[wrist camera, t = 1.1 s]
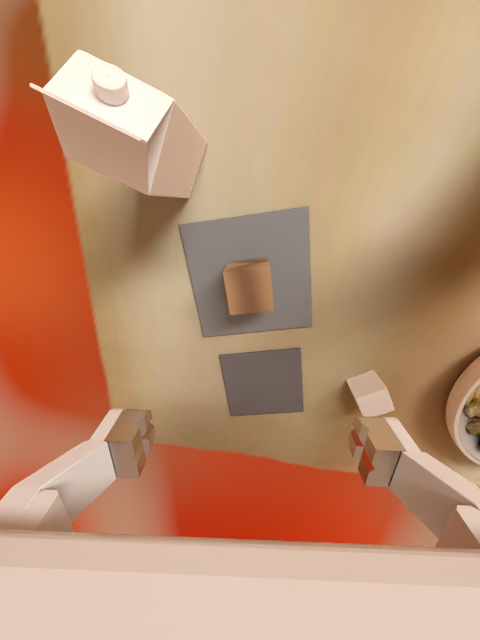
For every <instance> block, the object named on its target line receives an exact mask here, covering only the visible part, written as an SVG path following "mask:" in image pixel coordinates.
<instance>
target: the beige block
mask: <svg viewBox="0 0 480 640" xmlns="http://www.w3.org/2000/svg"><path fill="white" fill-rule="evenodd" d="M346 381H347V384H348V386H349V388H350V390H351V393H352V395H353V397H354V399H355V401H356V403H357V405H358V407H359V409H360V411H361V413H362V415H363V416H364V417H375V416H379V415H382V414H385V413H388V412H391V411H394V410H395V408H394V406H393V403H392V400H391V398H390V395H389V392H388V390H387V387H386V386H385V385H384V383H383V382H382V380H381V379H380V378H379V376H378V375H377V373H376V372H375V371H374V370H372V371H369V372H366V373H363V374H361V375H358V376H355V377H352V378H349V379H347V380H346Z"/></svg>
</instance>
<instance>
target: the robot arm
mask: <svg viewBox="0 0 480 640" xmlns="http://www.w3.org/2000/svg"><path fill="white" fill-rule="evenodd" d="M151 419H152V413H151V411H150V410H141V409H118V408H113V409H111V410H110V411H109V412H108V413H107V415H106V416H105V418H104V419H103V421H102V422H101V424H100V425H99V426H98V428H97V429H96V431H95V432H94V434H93V435H92V437H91V438H90V439H89V441H84V442H82V443H81V444H79V445H77V446H76V447H74V448H73V449H71V450H69V451H68V452H66V453H65V454H63V455H62V456H60V457H58V458H57V459H55V460H54V461H52V462H51V463H49V464H47V465H46V466H44V467H43V468H41V469H40V470H38V471H36V472H35V473H33V474H32V475H30V476H29V477H27V478H25V479H24V480H22V481H21V482H19V483H18V484H16V485H14V486H13V487H12V488H11V489H10V490H9V491H8V493H7V494H6V495H5V496H4V497H3V499H2V500H1V501H0V640H480V488H478V487H477V486H475V485H474V484H472V483H471V482H469V481H468V480H466V479H465V478H463V477H462V476H460V475H459V474H457V473H456V472H454V471H453V470H451V469H450V468H448V467H447V466H445V465H444V464H442V463H441V462H439V461H438V460H436V459H435V458H433V457H432V456H430V455H429V454H427V453H426V452H421V451H420V449H419V448H418V447H417V445H416V444H415V442H414V441H413V440H412V438H411V437H410V435H409V434H408V433H407V431H406V430H405V428H404V427H403V426H402V424H401V423H400V421H399V420H398V419H397V418H395V417H364V416H356V417H355V418H354V419H353V423H352V424H353V426H354V428H355V429H354V430H352V431H351V432H350V436H349V447H350V451H351V454H352V456H353V458H354V459H355V460H356V461H357V462H359V466H358V470H359V473H360V475H361V477H362V480H363V482H364V484H365V486H378V487H389V489H390V490H391V491H392V492H393V493H394V494H395V495H396V496H397V497H398V498H399V499H400V500H401V501H402V502H403V503H404V504H405V505H406V506H407V507H408V508H409V510H410V511H411V512H413V514H414V515H415V516H416V517H417V518H418V519H419V520H420V521H421V522H422V523H423V524H424V525H425V526H426V527H427V528H428V529H429V530H430V531H431V532H432V533H434V535H435V536H436V537H437V538H438V539H439V540H438V542H437V543H436V545H435V547H416V546H392V545H368V544H367V545H366V544H343V543H341V544H340V543H319V542H295V541H270V540H269V541H268V540H245V539H222V538H197V537H173V536H172V537H171V536H149V535H125V534H102V533H78V532H77V533H76V532H74V529H73V527H72V525H71V522H72V521H73V520H74V519H75V518H76V517H77V516H78V515H80V514H81V513H82V512H83V511H84V510H85V509H86V508H87V507H88V506H89V505H90V504H91V503H92V502H93V501H94V500H95V499H96V498H97V497H98V496H99V495H100V494H101V493H102V492H103V491H104V490H105V489H106V488H107V487H108V486H109V485H110V484H112V483H113V482H114V481H115V480H116V477H140V475H141V472H142V470H143V467H144V465H145V462H146V458H145V455H146V454H147V453H148V452H149V451H150V450H151V447H152V445H153V440H154V426H153V425H152V424H151V423H150V421H151Z"/></svg>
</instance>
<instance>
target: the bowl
mask: <svg viewBox="0 0 480 640" xmlns="http://www.w3.org/2000/svg"><path fill="white" fill-rule="evenodd" d="M446 423H447V427H448V431H449V433H450V435H451V438H452V439H453V441H454V443H455V444H456V445H457V447H458V448H459V449H460V450H461V452H462V453H463V454H464V455H465V456H466V457H467V458H469V459H470V460H471V461H473V462H475V463H476V464H478V465H480V356H479V357H478V358H477V359H475V360H474V361H473V362H472V363H471V364H470V365H469V366H468V367H467V368H466V369H465V370H464V371H463V373H462V374H461V375H460V376H459V378H458V379H457V381H456V382H455V384H454V386H453V388H452V390H451V392H450V394H449V397H448V400H447V405H446Z"/></svg>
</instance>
